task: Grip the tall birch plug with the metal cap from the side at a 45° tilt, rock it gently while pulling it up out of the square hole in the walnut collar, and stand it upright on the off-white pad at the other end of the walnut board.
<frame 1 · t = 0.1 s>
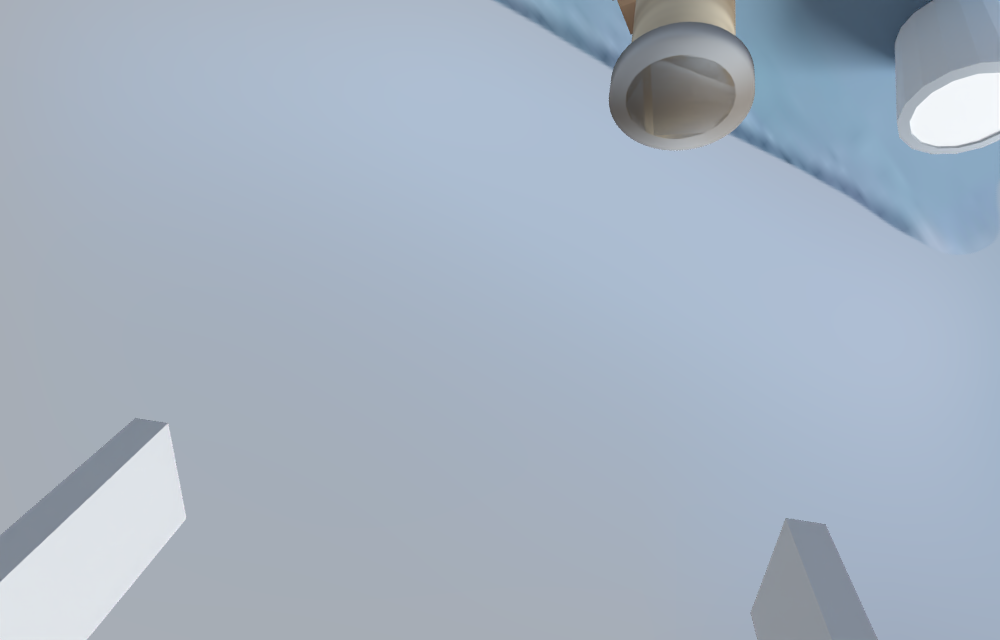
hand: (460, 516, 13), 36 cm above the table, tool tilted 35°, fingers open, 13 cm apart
short white cylinder: (947, 30, 39), on the table
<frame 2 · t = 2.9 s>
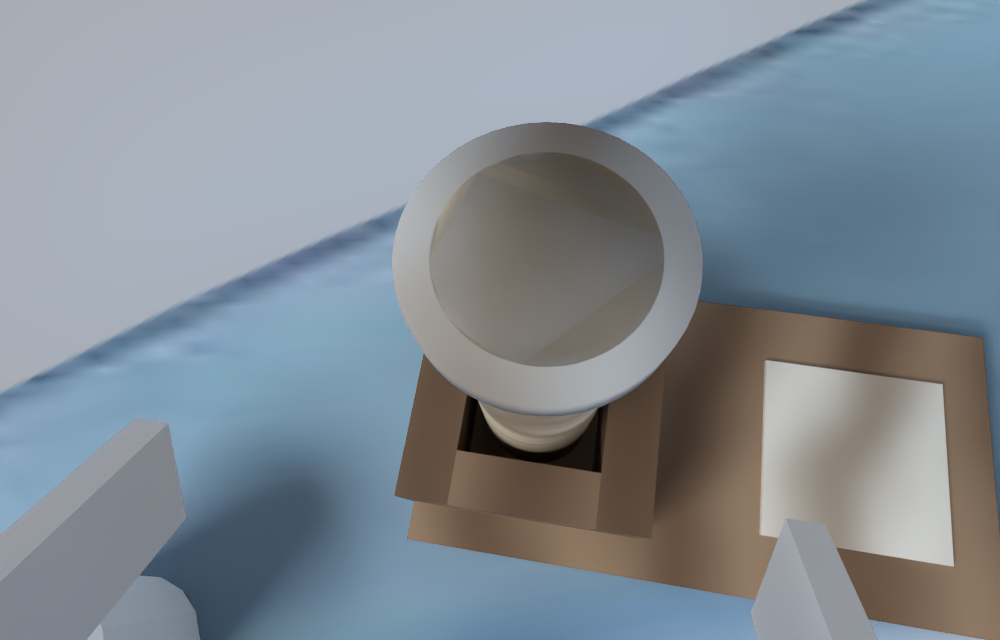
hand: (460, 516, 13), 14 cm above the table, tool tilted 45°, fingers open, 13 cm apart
socket board: (697, 438, 27), on the table
capped plug: (537, 410, 27), point 1 cm above the table, touching socket board
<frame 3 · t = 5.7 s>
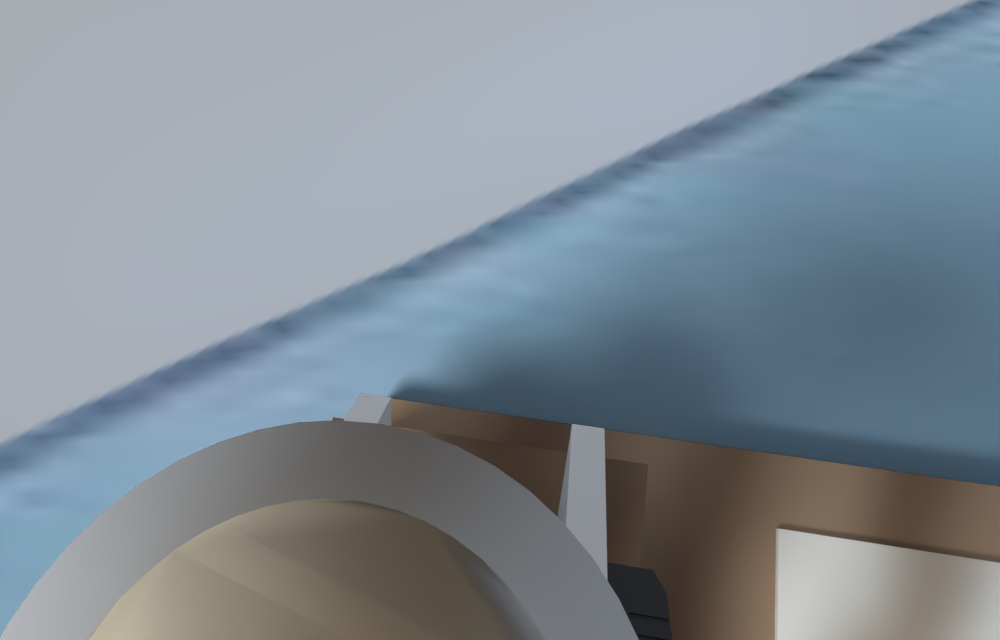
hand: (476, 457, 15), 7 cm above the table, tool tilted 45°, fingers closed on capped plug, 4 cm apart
socket board: (687, 632, 20), on the table
capped plug: (472, 599, 20), point 1 cm above the table, touching gripper, socket board
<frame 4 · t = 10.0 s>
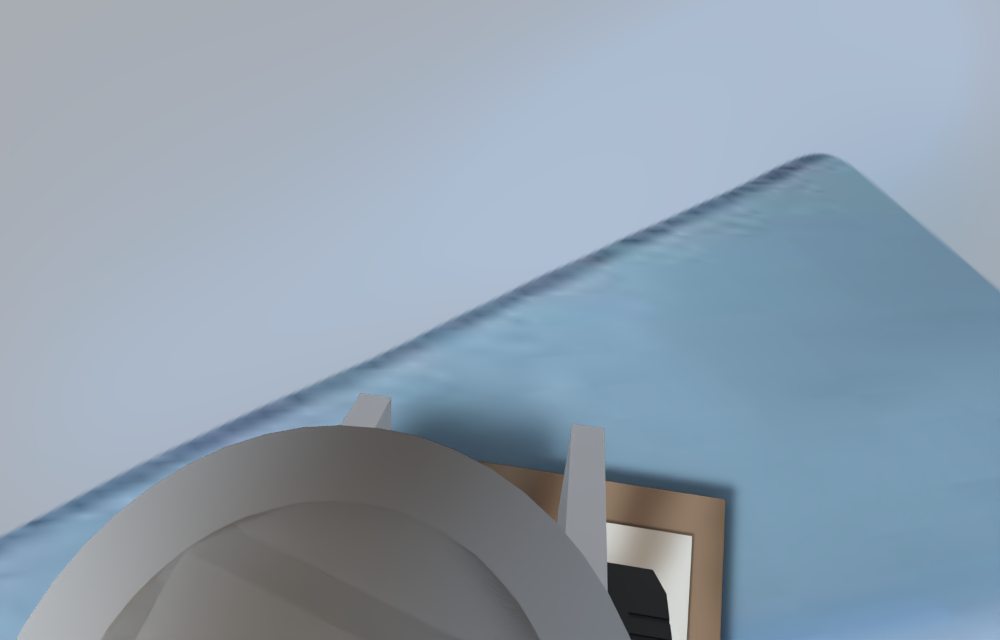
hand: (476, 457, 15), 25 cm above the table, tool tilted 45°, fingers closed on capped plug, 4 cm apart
socket board: (521, 573, 37), on the table
capped plug: (471, 597, 20), point 18 cm above the table, touching gripper
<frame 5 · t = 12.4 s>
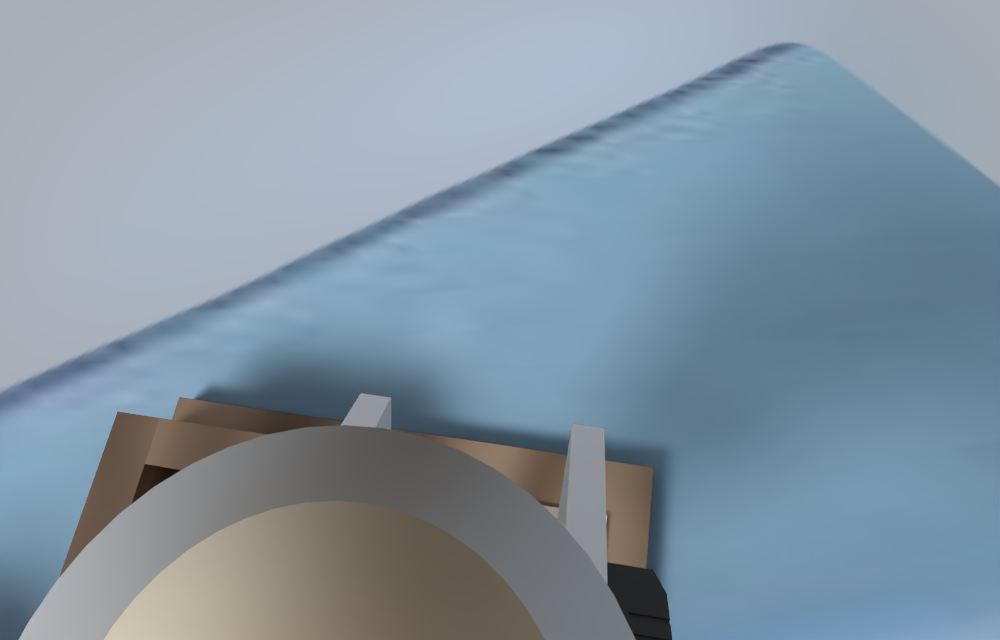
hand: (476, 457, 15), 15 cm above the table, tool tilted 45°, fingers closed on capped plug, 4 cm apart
socket board: (385, 564, 29), on the table
capped plug: (473, 597, 20), point 8 cm above the table, touching gripper
when the fingers open (8 cm above the table, at t = 14.3 s): capped plug stays where it is, resting on socket board.
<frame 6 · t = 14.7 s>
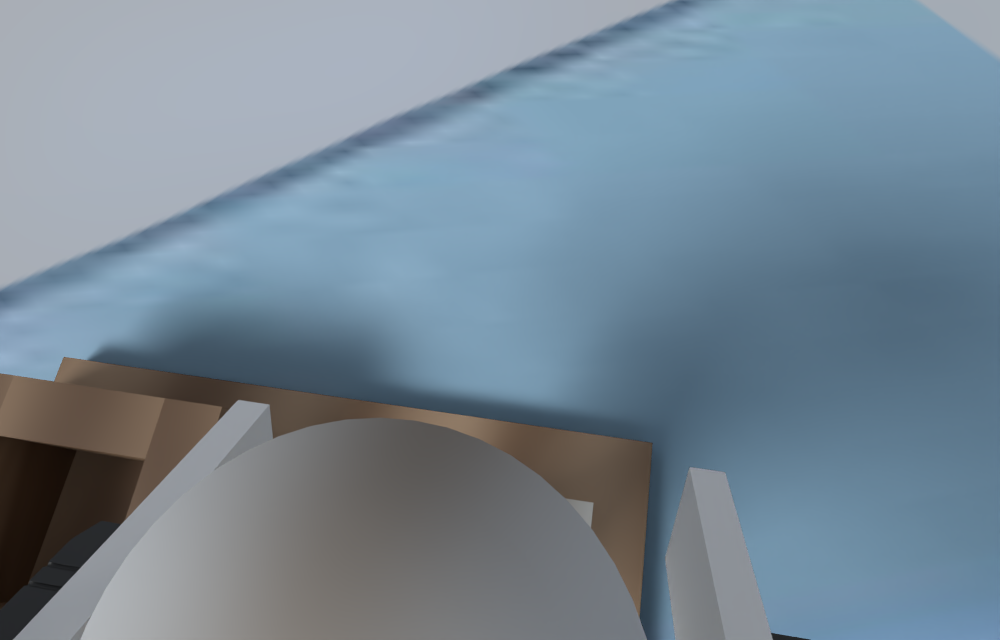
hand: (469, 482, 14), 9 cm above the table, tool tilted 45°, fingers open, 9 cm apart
socket board: (314, 565, 23), on the table
capped plug: (475, 596, 21), point 1 cm above the table, touching socket board
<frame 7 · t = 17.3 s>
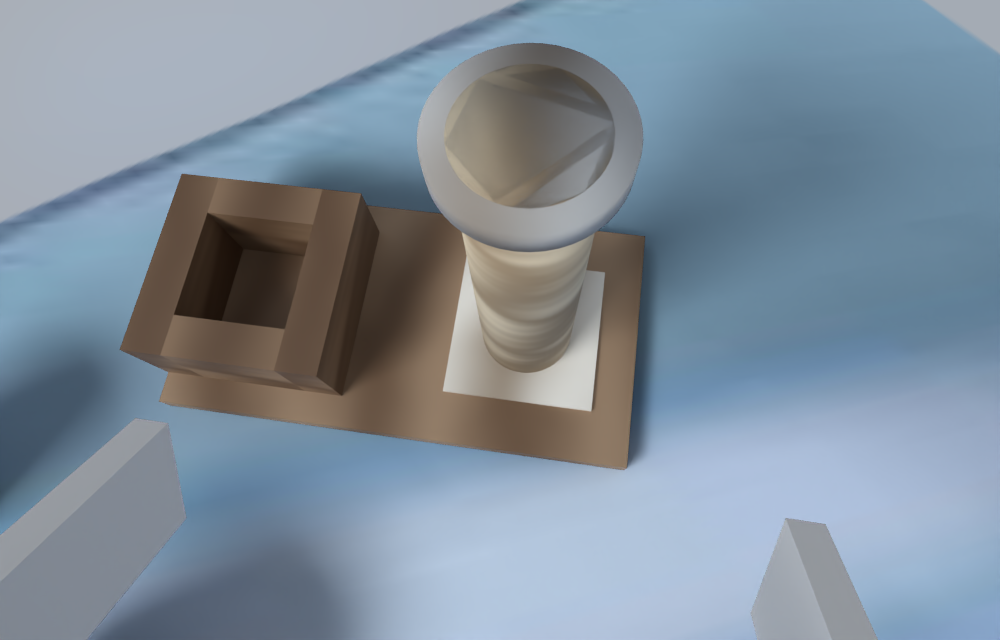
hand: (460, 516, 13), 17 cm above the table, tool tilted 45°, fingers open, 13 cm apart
socket board: (412, 322, 33), on the table
capped plug: (526, 330, 31), point 1 cm above the table, touching socket board
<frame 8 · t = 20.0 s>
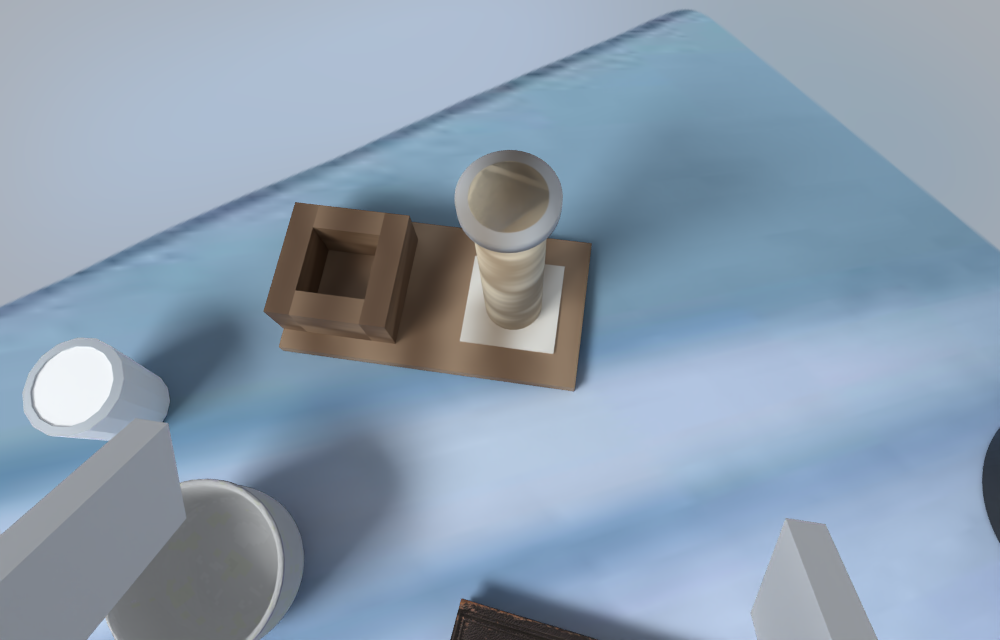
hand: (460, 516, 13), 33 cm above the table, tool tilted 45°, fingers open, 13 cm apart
teacup: (228, 581, 44), on the table
short white cylinder: (135, 406, 49), on the table
socket board: (439, 298, 50), on the table
capped plug: (513, 303, 49), point 1 cm above the table, touching socket board
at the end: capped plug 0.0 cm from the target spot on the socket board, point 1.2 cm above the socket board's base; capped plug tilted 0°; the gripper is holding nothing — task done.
